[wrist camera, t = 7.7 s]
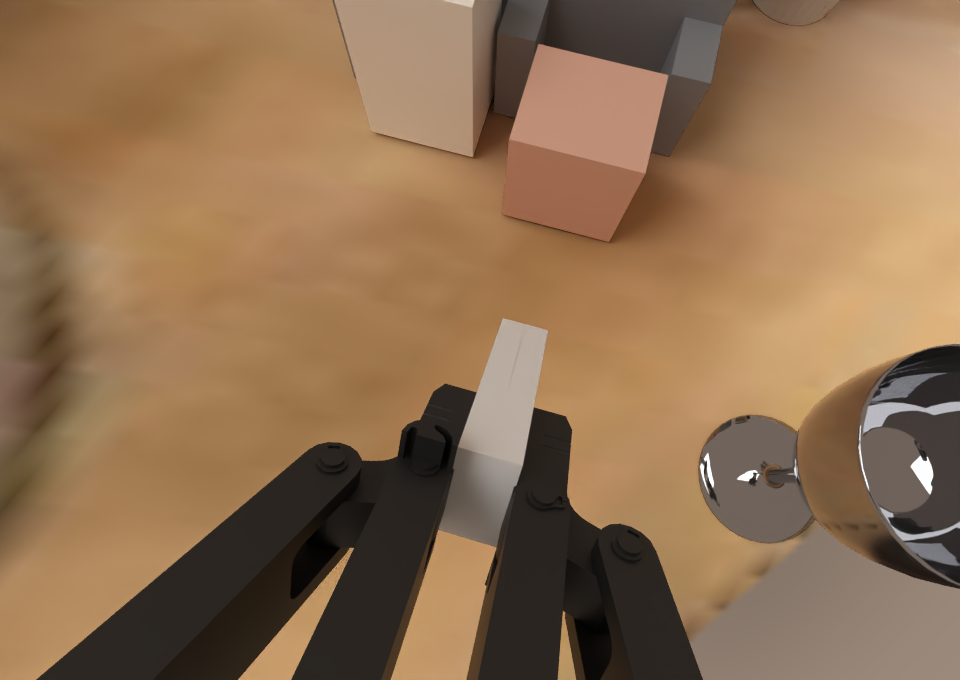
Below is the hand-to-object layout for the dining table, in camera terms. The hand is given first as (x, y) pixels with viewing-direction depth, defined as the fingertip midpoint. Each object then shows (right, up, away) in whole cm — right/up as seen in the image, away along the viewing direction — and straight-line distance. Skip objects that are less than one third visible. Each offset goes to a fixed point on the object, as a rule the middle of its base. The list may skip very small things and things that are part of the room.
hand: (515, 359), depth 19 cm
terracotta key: (+4, +10, +19) cm, 22 cm away
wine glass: (+15, -7, +14) cm, 22 cm away
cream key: (-4, +16, +20) cm, 26 cm away
